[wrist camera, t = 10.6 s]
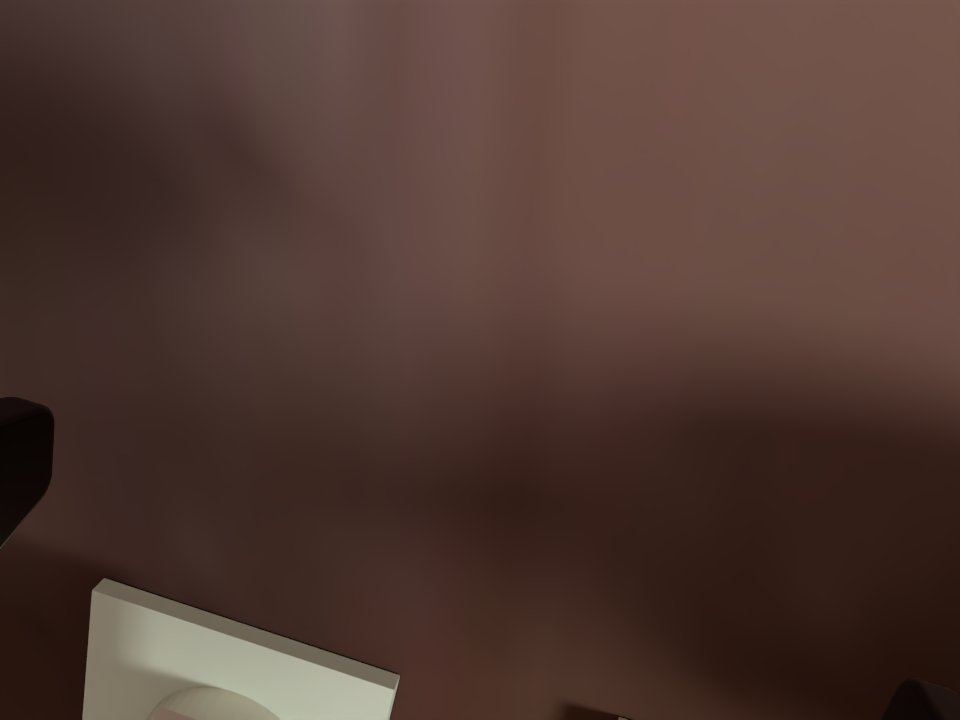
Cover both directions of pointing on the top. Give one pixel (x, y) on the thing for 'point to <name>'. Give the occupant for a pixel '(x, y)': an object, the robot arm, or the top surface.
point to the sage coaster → (215, 663)
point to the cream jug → (209, 706)
